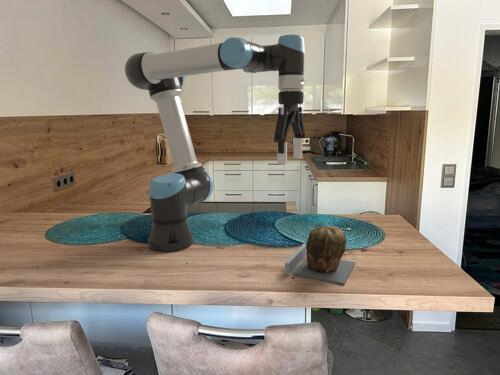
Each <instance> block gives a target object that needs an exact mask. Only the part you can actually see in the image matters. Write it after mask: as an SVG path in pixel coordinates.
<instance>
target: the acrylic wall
mask: <svg viewBox="0 0 500 375" xmlns="http://www.w3.org/2000/svg"><path fill="white" fill-rule="evenodd" d="M306 243H307V242H306ZM306 243H305V242H304V243H302V244H301V245H300V247H299V248H298V249H297V250H296V251H295V252H294V253H293V254H291V256H290V257H289V258H288V259H287V260H286V261H285V262H284V275H285V276H289V275H291V274H292V273H293V272H294V271H295V270H296V269H297V268H298V266H299V265H300V264H301V263H302V262H303V261H304V259H305V258H306V257H307V250H306Z"/></svg>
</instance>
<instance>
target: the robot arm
mask: <svg viewBox="0 0 500 375" xmlns="http://www.w3.org/2000/svg"><path fill="white" fill-rule="evenodd" d="M277 40H278V41H277V43H276V44H268V45H266V44H265V45H260V44H258V43H255V42H251V41H249V40H246V39H244V38H241V37H233V36H232V37H229V38H226V39H225V41H223V42H219V43H213V44H205V45H202V46H195V47H194V46H193V47H189V48H184V49H177V50H172V51H166V52H160V53H155V52H153V51H146V52H145V51H144V52H138V53H134V54H132V55H131V56H129V57H128V59H127V60H126V62H125V65H124V73H125V77H126V79H127V80H128V82H129V83H130V84H131V85H132V86H134V87H135V88H136V89H140V90H145V91H148V94H149V96H150V97H149V98H150V100H152V101H154V102H155V103H156V108H157V110H158V113H159V118H160V121H161V124H162V128H163V132H164V135H165V139H166V143H167V146H168V149H169V150H168V151H169V154H170V157H171V158H170V159H171V161H172V165H173V168H172V171H171V172H170V173H167V174H166V173H165V174H161V175H158V176H156V177H155V176H154V178H152V179H151V181H150V182H149V192H148V194H149V199H150V200H149V201H150V213H151V223H152V224H151V227H150V231H149V236H148V239H147V240H148V241H147V242H148V248H150V249H151V250H152V251H155V252H162V253H163V252H165V253H166V252H169V253H170V252H176V251H181V250H184V249H187V248H189V247H191V246H192V245H193V244H194V235H193V232H192V230H191V229H192V228H190V225H189V222H188V212H187V211H188V210H187V209H189V208H191V207H193V206H195V205H197V204H198V205H199V204H201V203H203V202H204V201H206V200H207V199H209V198H210V197H211V195H212V193H213V190H214V181H213V178H212V176H211V175H210V173H208V172H207V171H205V169H204V167H203V164H202V163H200V162H199V161H198V159H197V155H196V153H195V149H194V144H193V141H192V137H191V134H190V129H189V126H188V123H187V120H186V119H187V118H186V114H185V111H184V108H183V105H182V104H183V103H182V100H181V96H182V93H183V88H182V87H183V86H184V82H185V77H188V76H189V77H190V76H194V75H195V76H196V75H202V74H210V73H216V72H217V73H218V72H223V71H235V70H243V72H244V73H246V74H247V73H251V74H252V73H253V74H256V73H266V72H278V75H277V76H278V83H277V84H278V85H277V87H278V88H277V89H278V90H279V92H278V95H277V96H278V102H277V103H278V104H279V105H283V107H278V109H277V110H278V111H277V112H278V114H277V121H276V125H275V132H274V135H273V142H274V143H276V144H277V145H276V146H277V147H276V148H277V159H276V160H277V165H283V166H284V165H287V164H288V142H287V137H288V134H289V131H290V128H292V131H293V135H294V138H293V159H303V139H305V138H306V132H305V124H304V117H303V107H302V106H299V105H303V104H304V94H305V93H304V91H303V90H304V82H305V81H306V78H305V77H304V74H305V53H306V51H305V40H304V37H303V36H302V35H300V34H290V33H289V34H284V35H280V36H279V37H278V39H277Z"/></svg>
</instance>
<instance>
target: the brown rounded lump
mask: <svg viewBox="0 0 500 375" xmlns="http://www.w3.org/2000/svg"><path fill="white" fill-rule="evenodd" d="M346 247H347V237H346V234H345V233H344V231H343V230H341V229H340V228H339V227H337V226H330V225H326V226H324V225H320V226H317V227H315V228H313V229H311V231H310V232H309V234H308V237H307V240H306V250H307V255H306V257H307V264H308V268H309V269H311V270H313V271H316V272H319V273H327V272H333V271H335V270H336V269H337V268H338V266H339V263H340V260H342V258H343V256H344V255H345V252H346Z"/></svg>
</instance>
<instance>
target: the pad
mask: <svg viewBox="0 0 500 375" xmlns="http://www.w3.org/2000/svg"><path fill="white" fill-rule="evenodd" d="M355 265H356V262H355V261H350V260H345V259H340V263H339V266H338V268H337V269H336V270H335V271H333V272H327V273H319V272H316V271H313V270H311V269H309V268H308V264H307V256H305V257H304V259H303V260H302V261H301V262H300V263H299V264H298V265H297V267H296V268H295V269H294V270H293V271H292V275H293V276H298V277H299V276H300V277H302V278H303V277H304V278H308V279H313V280H317V281H322V282H326V283H332V284H336V285H341V286H345V284H346V282H347V281H348V278H349V276H350V274H351V273H352V271H353V269H354V267H355Z"/></svg>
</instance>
